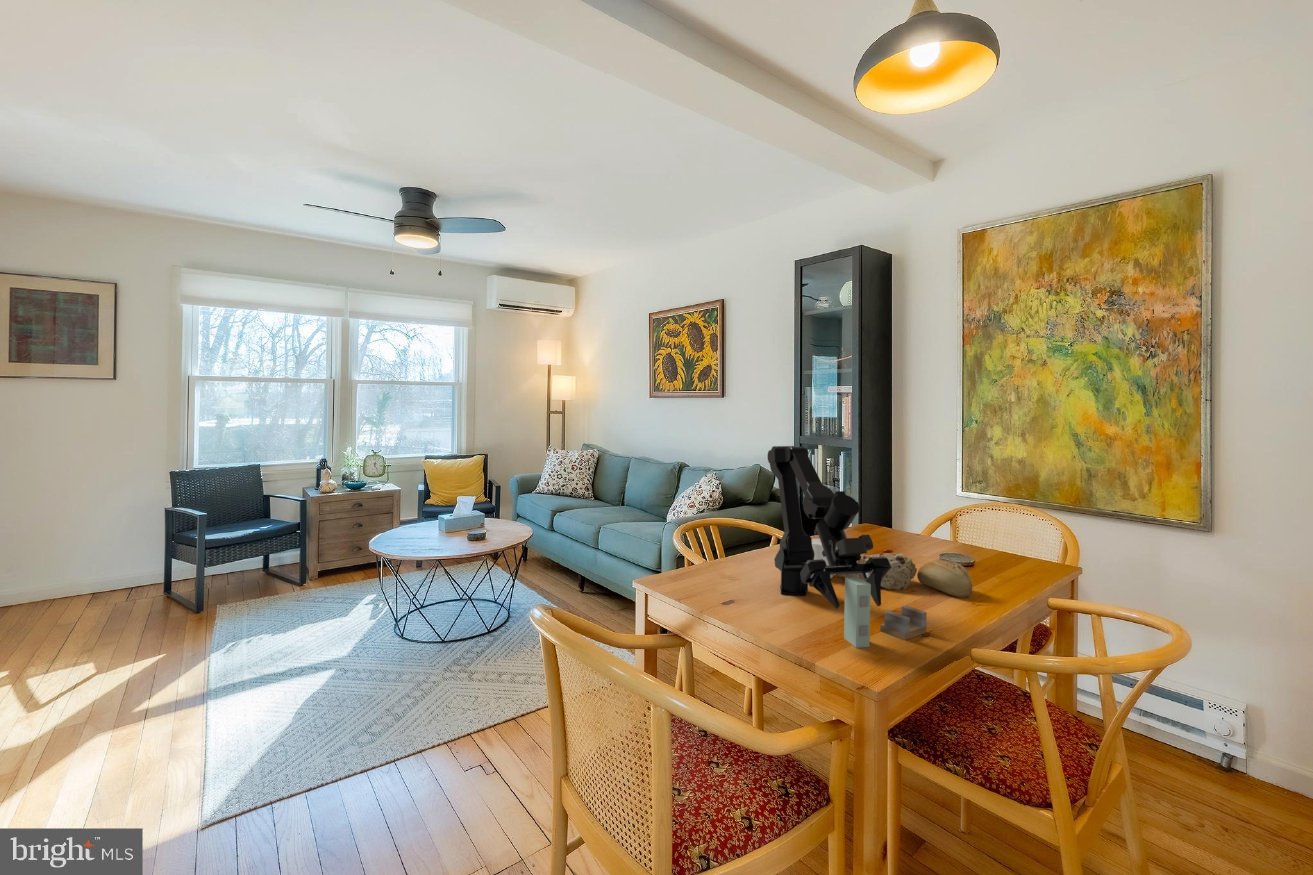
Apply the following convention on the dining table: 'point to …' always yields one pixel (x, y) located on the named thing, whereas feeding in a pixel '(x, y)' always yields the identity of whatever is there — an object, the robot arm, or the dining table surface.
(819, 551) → the white cup
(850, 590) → the pale green tall block
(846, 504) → the robot arm
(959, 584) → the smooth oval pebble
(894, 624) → the hinge jig
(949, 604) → the dining table surface
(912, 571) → the rock
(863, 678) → the dining table surface
